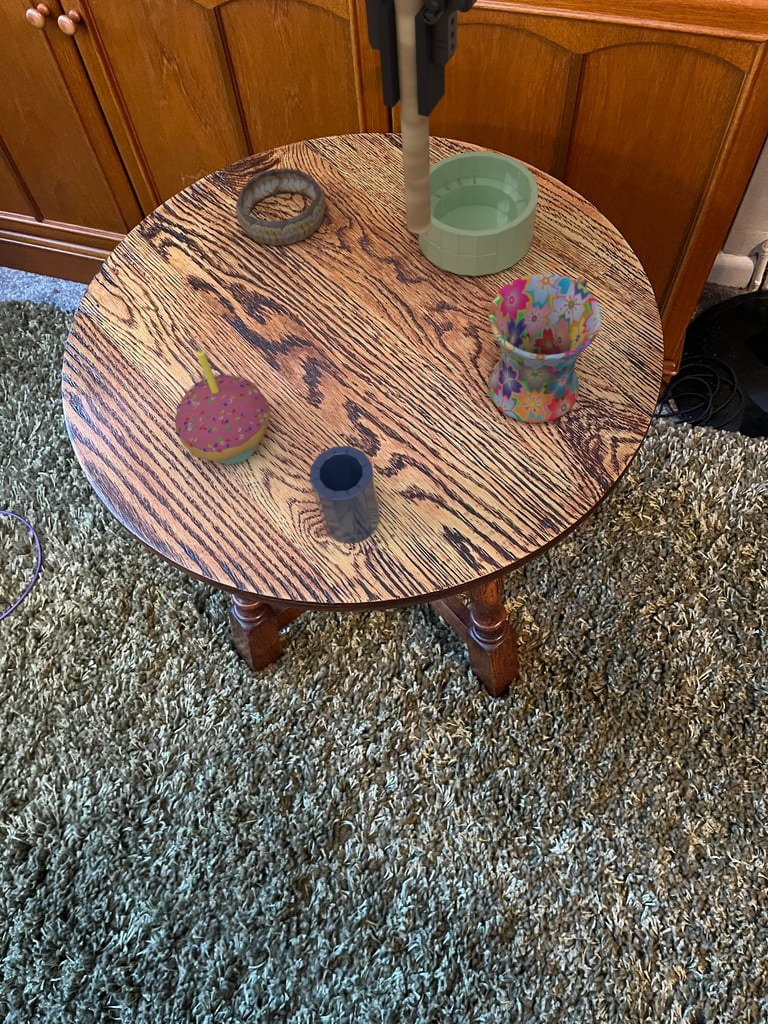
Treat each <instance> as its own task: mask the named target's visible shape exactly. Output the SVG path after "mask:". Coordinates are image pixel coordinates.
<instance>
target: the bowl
mask: <svg viewBox="0 0 768 1024" xmlns="http://www.w3.org/2000/svg"><path fill="white" fill-rule="evenodd" d="M539 191H540V190H539V187H538V183H537V180H536V178H535V175H534V174H533V173H532V172H531V171H530V170H529V169H528V167H527V165H525V164H523V163H521V162H519V161H518V160H516V159H514V158H513V157H511V156H508V155H504V154H500V153H497V152H493V151H477V150H476V151H475V150H474V151H468V152H462V153H455V154H453V155H450V156H448V157H445V158H442V159H440V160H439V161H437V162H436V163H434V164H433V165H430V200H431V226H430V228H429V230H427V231H426V232H424V233H416V237H417V242H418V243H417V244H418V246H419V249H420V251H421V253H422V254H424V257H425V258H426V259H427V260H428V261H429V262H430V263H432V264H434V266H437V267H438V268H439V269H441V270H444V271H447V272H450V273H453V274H455V275H460V276H471V277H480V276H487V275H491V274H497V273H499V272H502V271H505V270H507V269H509V268H511V267H513V266H514V265H515V264H517V263H518V262H519V261H520V260H522V259H523V258H524V257H525V256H526V255H527V252H528V251H529V249H530V248H531V246H532V244H533V238H534V230H535V225H536V224H535V222H536V215H537V207H538V200H539Z"/></svg>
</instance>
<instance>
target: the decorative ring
mask: <svg viewBox="0 0 768 1024" xmlns="http://www.w3.org/2000/svg"><path fill="white" fill-rule="evenodd" d="M284 194H294V195H301V196H304V197H306V198H308V199H310V200H312V202H311V203H310V205H309V206H308V207H307V208H306V209H305V210H304V211H302V212H300V213H299V214H297V215H295V216H292V217H289V218H286V219H284V220H271V221H270V220H264V219H259V218H257V217H254V216H252V214H251V212H252V211H253V209H255V207H256V206H257V205H258V204H260V203H261V202H263V201H264V200H266V199H268V198H271V197H274V196H278V195H284ZM326 209H327V201H326V197H325V193H324V191H323V188H322V186H321V185H320V184H319V183H318V182H317V181H316V180H315V178H314V177H312V176H311V174H308V173H306V172H304V171H302V170H300V169H295V168H288V167H284V168H273V169H269V170H267V171H264V172H260V173H258V174H257V175H255V176H253V177H252V178H250V179H249V180H248V181H246V183H245V184H244V185H243V186H242V188H241V189H240V191H239V194H238V196H237V199H236V204H235V212H236V219H237V222H238V224H239V225H240V227H241V228H242V229H243V230H244V232H245V233H246V235H247V236H249V238H251V239H253V240H254V241H257V242H258V243H260V244H262V245H267V246H274V247H278V246H279V247H280V246H290V245H294V244H296V243H299V242H302V241H304V240H305V239H307V238H308V237H310V236H311V235H313V234H314V233H315V232H316V231H317V230H318V228H319V227H320V226H321V224H322V223H323V220H324V216H325V213H326Z"/></svg>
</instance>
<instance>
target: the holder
mask: <svg viewBox="0 0 768 1024" xmlns="http://www.w3.org/2000/svg"><path fill="white" fill-rule="evenodd" d="M374 474H375V473H374V469H373V464H372V461H371V460H370V458H369V457H368V456H367V455H366V453H365V452H364V451H363V450H361V449H358V448H356V447H353V446H351V445H341V446H339V445H338V446H333V447H330V448H328V449H326V450H325V451H323V452H321V453H319V454H318V455H317V457H316V458H315V459H314V461H313V462H312V464H311V465H310V468H309V483H310V486H311V489H312V492H313V497H314V498H315V499H314V500H315V501H316V502H315V503H316V505H317V509H318V511H319V515H320V518H321V521H322V524H323V526H324V528H325V531H326V532H327V533H328V535H329V536H330V537H331V538H332V539H334V540H335V541H338V542H339V543H344V544H357V543H361V542H364V541H365V540H367V539H369V538H371V536H372V535H373V534H374V533H375V532H376V530H377V529H378V527H379V524H380V520H381V516H380V504H379V499H378V492H377V486H376V485H377V484H376V479H375V475H374Z"/></svg>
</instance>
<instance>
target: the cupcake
mask: <svg viewBox="0 0 768 1024" xmlns="http://www.w3.org/2000/svg"><path fill="white" fill-rule="evenodd" d="M196 347H197V350H198V351H197V352H196V356H197V359H198V361H199V364H200V366H201V368H202V371H203V374H204V376H205V379H204V378H201V379H200V381H197V382H196V383H194V384H193V385H191V386H190V388H189V389H188V391H186V393H185V395H184V396H181V400H180V402H179V404H177V405H176V411H175V412H176V415H175V416H174V421H175V424H174V426H175V430H176V433H177V434H176V435H177V437H179V440H180V442H181V443H182V445H183V446H184V447H185V448H186V449H187V450H188V451H189V452H190V454H192V455H193V456H194V457H196V458H198V459H201V460H207V461H211V462H215V463H216V462H218V463H221V464H225V465H236V464H240V463H242V462H244V461H246V460H248V459H249V458H250V457H251V456H252V455H254V453H255V451H256V450H257V447H258V445H259V444H260V443H261V442H262V440H263V439H264V436H265V435H266V433H267V429H268V426H269V423H270V417H271V411H272V410H271V407H270V405H269V402H268V400H267V398H266V397H265V395H264V394H263V393H262V392H261V390H260V389H259V387H258V385H257V384H256V383H255V382H252V381H251V380H248V379H246V378H245V377H243V376H242V377H241V376H235V375H234V374H230V373H227V374H218V373H215V374H213V371H212V368H211V365H210V362H209V360H208V357H207V355H206V352H205V350H203V349H201V346H200V344H199V342H198V343H196Z"/></svg>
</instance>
